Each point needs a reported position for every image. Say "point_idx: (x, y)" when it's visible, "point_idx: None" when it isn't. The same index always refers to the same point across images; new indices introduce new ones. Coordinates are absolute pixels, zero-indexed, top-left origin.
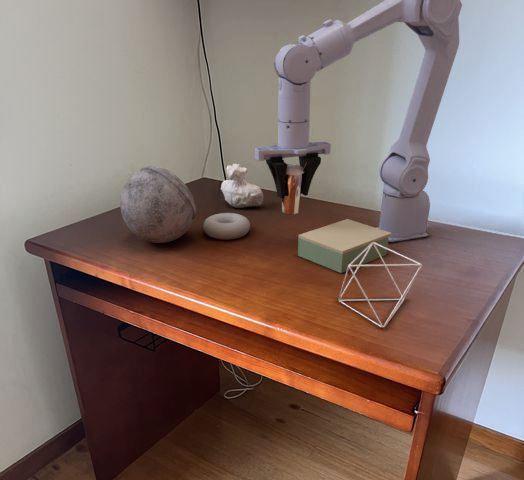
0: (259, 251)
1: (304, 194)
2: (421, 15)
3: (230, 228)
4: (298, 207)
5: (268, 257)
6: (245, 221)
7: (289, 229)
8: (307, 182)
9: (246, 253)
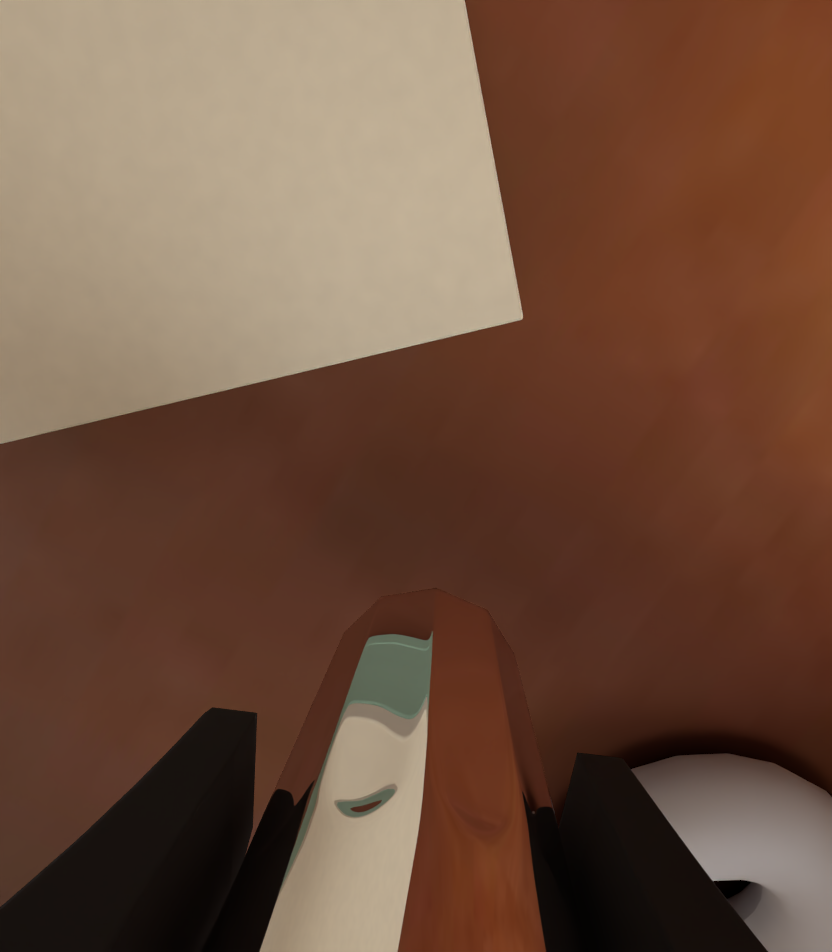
0: (695, 511)
1: (251, 730)
2: None
3: (786, 814)
4: (371, 629)
5: (710, 383)
6: None
7: (296, 737)
8: (151, 858)
9: (794, 523)
